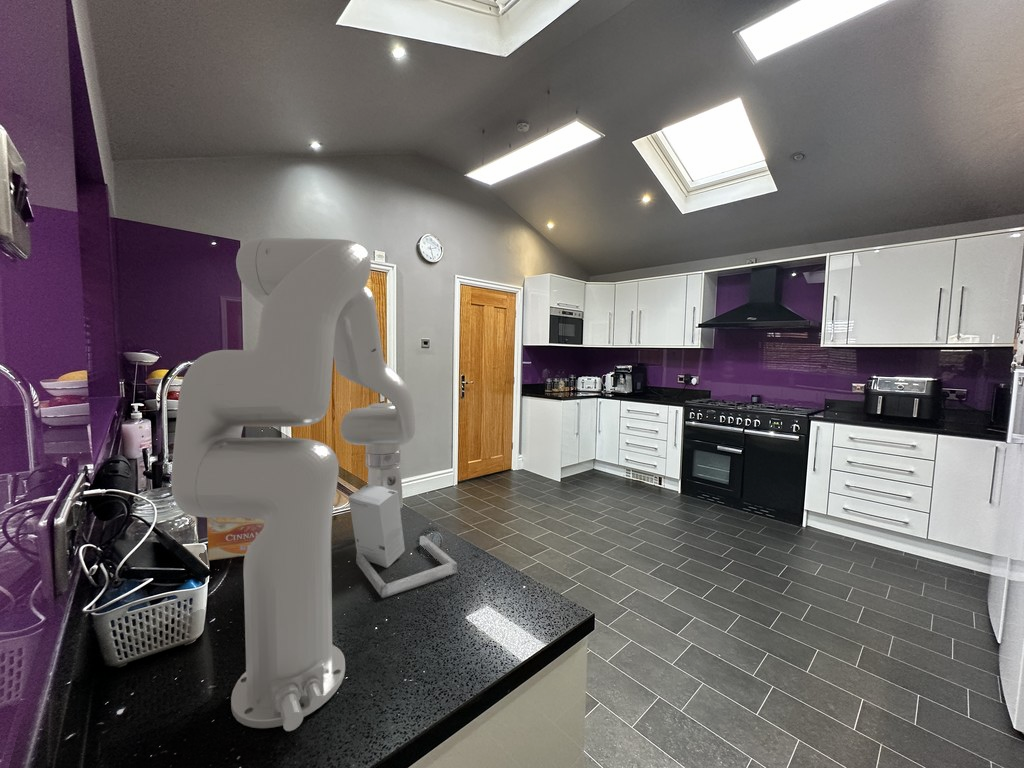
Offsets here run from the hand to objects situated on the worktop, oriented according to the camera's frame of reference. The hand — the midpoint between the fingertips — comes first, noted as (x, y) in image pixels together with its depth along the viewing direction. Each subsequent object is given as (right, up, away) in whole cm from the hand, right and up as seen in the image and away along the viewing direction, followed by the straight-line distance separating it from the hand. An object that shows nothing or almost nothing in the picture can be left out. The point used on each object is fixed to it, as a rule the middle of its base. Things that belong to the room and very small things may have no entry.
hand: (383, 530), depth 92 cm
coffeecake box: (-26, -3, -6) cm, 27 cm away
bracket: (+8, -3, -11) cm, 14 cm away
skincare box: (+2, -2, -8) cm, 8 cm away
